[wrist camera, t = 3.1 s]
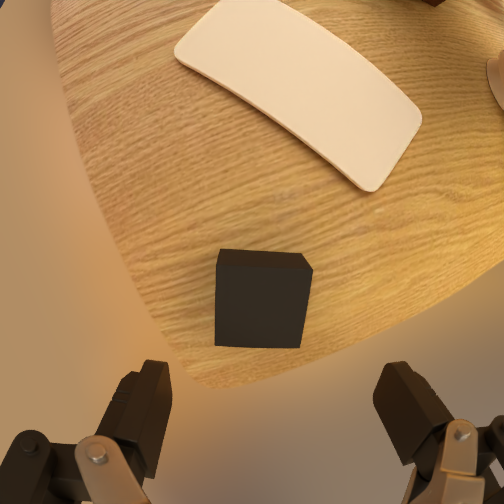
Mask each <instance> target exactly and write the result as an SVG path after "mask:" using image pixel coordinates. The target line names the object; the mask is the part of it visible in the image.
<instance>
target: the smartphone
mask: <svg viewBox="0 0 504 504" xmlns="http://www.w3.org/2000/svg"><path fill="white" fill-rule="evenodd" d="M174 55H175V57H176V58H177V60H178V61H179V62H180V63H182V64H183V65H185V66H187V67H189V68H191V69H193V70H195V71H196V72H198V73H200V74H202V75H203V76H205V77H207V78H209V79H210V80H212V81H214V82H216V83H217V84H219V85H221V86H222V87H224V88H226V89H227V90H229V91H230V92H232V93H234V94H235V95H237V96H238V97H240V98H241V99H243V100H245V101H246V102H248V103H249V104H251V105H252V106H254V107H255V108H257V109H258V110H260V111H261V112H263V113H264V114H266V115H267V116H268V117H270V118H271V119H273V120H274V121H276V122H277V123H278V124H280V125H281V126H283V127H284V128H285V129H287V130H288V131H289V132H291V133H292V134H293V135H295V136H296V137H297V138H299V139H300V140H301V141H303V142H304V143H305V144H306V145H308V146H309V147H310V148H312V149H313V150H314V151H315V152H317V153H318V154H319V155H320V156H322V157H323V158H324V159H325V160H327V161H328V162H329V163H330V164H332V165H333V166H334V167H335V168H336V169H337V170H339V171H340V172H341V173H342V174H343V175H345V176H346V177H347V178H348V179H349V180H350V181H351V182H353V183H354V184H355V185H356V186H357V187H358V188H360V189H362V190H364V191H369V192H373V191H375V190H377V189H378V188H379V187H380V186H381V185H382V184H383V182H384V181H385V179H386V178H387V176H388V175H389V173H390V172H391V171H392V169H393V168H394V166H395V165H396V163H397V162H398V160H399V159H400V157H401V156H402V154H403V152H404V151H405V149H406V148H407V146H408V145H409V143H410V142H411V140H412V139H413V137H414V135H415V134H416V132H417V131H418V129H419V127H420V125H421V123H422V114H421V112H420V110H419V109H418V107H417V106H416V105H415V104H414V103H413V102H412V101H411V100H410V99H409V98H408V97H407V96H406V95H405V94H404V93H403V92H402V91H401V90H400V89H399V88H398V87H397V86H396V85H395V84H394V83H393V82H392V81H391V80H390V79H389V78H388V77H386V76H385V75H384V74H383V73H382V72H381V71H380V70H379V69H377V68H376V67H375V66H374V65H373V64H372V63H370V62H369V61H368V60H367V59H366V58H364V57H363V56H362V55H361V54H359V53H358V52H357V51H356V50H354V49H353V48H352V47H350V46H349V45H348V44H346V43H345V42H344V41H342V40H341V39H340V38H338V37H337V36H335V35H334V34H333V33H331V32H330V31H328V30H327V29H325V28H324V27H322V26H321V25H319V24H318V23H316V22H315V21H313V20H311V19H310V18H308V17H306V16H305V15H303V14H301V13H300V12H298V11H296V10H295V9H293V8H291V7H289V6H287V5H286V4H284V3H282V2H280V1H278V0H220V1H219V2H218V3H217V4H216V5H215V6H213V7H212V8H211V9H210V10H209V11H208V12H207V13H206V14H205V15H204V16H203V17H202V18H201V19H200V20H199V21H198V22H197V23H196V24H195V25H194V26H193V27H192V28H191V29H190V30H189V31H188V32H187V33H186V34H185V35H184V36H183V37H182V39H181V40H180V41H179V42H178V43H177V45H176V46H175V48H174Z"/></svg>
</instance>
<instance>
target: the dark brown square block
mask: <svg viewBox="0 0 504 504" xmlns="http://www.w3.org/2000/svg"><path fill="white" fill-rule="evenodd" d="M312 274H313V269H312V268H311V266H310V265H309V264H308V262H307V261H306V259H305V258H304V256H303V255H302V254H301V253H285V252H268V251H250V250H233V249H220V252H219V256H218V260H217V264H216V290H215V346H227V347H248V348H300V344H301V339H302V334H303V328H304V323H305V317H306V311H307V305H308V299H309V293H310V287H311V280H312Z"/></svg>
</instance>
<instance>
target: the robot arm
mask: <svg viewBox="0 0 504 504" xmlns="http://www.w3.org/2000/svg"><path fill="white" fill-rule="evenodd" d="M373 404H374V407H375V409H376V411H377V413H378V414H379V417H380V419H381V421H382V423H383V425H384V427H385V429H386V431H387V433H388V435H389V437H390V439H391V441H392V443H393V445H394V447H395V449H396V451H397V454H398V456H399V458H400V460H401V462H402V464H403V466H404V465H407V464H410V463H413V462H414V463H415V465H416V466H415V467H414V469H413V471H412V474H411V477H410V480H409V483H408V486H407V490H406V492H405V495H404V498H403V501H402V503H401V504H504V487H503V488H501V487H500V486H499V484H498V482H497V480H496V478H495V476H494V474H493V473H492V471H491V469H490V467H489V466H490V464H491V463H492V462H493V461H494V460H495V459H496V458H497V459H498V461H499V463H500V464H501V466H502V468H503V470H504V415H500V416H497V417H495V418H494V420H493V421H492V423H491V424H490V425H489V426H487V427H479V428H476V427H475V426H474V425H473V424H472V423H471V422H469V421H467V420H464V419H456V420H455V419H454V418H453V416H452V415H451V413H450V412H449V410H448V409H447V408H446V406H445V405H444V404H443V402H442V401H441V400H440V398H439V397H438V395H437V396H436V393H435V391H434V390H433V389H431V386H430V385H429V383H428V382H427V381H426V379H425V378H423V377H422V376H421V375H419V374H418V373H416V372H413V370H412V369H411V367H410V366H409V365H408V363H406V362H405V361H400V362H393V363H387V364H386V365H385V366H384V368H383V371H382V373H381V376H380V379H379V381H378V383H377V386H376V388H375V390H374V393H373ZM171 406H172V388H171V382H170V374H169V367H168V363H167V362H162V361H154V360H146V361H145V362H144V364H143V366H142V369H141V371H140V372H134V371H131V372H130V373H129V374H127V375H126V376H125V377H124V378H122V379H121V381H120V383H119V385H118V387H117V389H116V392H115V393H114V395H113V397H112V401H110V404H109V406H108V408H107V410H106V412H105V414H104V416H103V418H102V420H101V423H100V425H99V427H98V429H97V431H96V433H95V434H94V435H93V436H89V437H86V438H84V439H82V440H81V441H80V442H79V443H78V444H60V443H50V442H49V440H48V439H47V438H46V436H45V435H44V434H42V433H41V432H39V431H35V430H26V431H23V432H21V433H19V434H18V435H17V436H16V437H15V439H14V440H13V442H12V444H11V446H10V448H9V450H8V452H7V454H6V456H5V458H4V460H3V462H2V464H1V466H0V504H81V502H82V501H90V502H93V504H151V502H150V500H149V499H148V498H147V496H146V494H145V492H144V491H143V489H142V485H143V481H144V477H146V478H151V479H154V478H155V473H156V469H157V464H158V460H159V456H160V452H161V447H162V443H163V439H164V435H165V431H166V427H167V423H168V419H169V415H170V411H171Z"/></svg>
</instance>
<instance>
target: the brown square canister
mask: <svg viewBox="0 0 504 504" xmlns="http://www.w3.org/2000/svg"><path fill="white" fill-rule="evenodd" d="M422 1H424V2H426V3H428V4H430V5H432V6H434V7H436V6H438V5H439V4H441V3H442V2H444V1H445V0H422Z"/></svg>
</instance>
